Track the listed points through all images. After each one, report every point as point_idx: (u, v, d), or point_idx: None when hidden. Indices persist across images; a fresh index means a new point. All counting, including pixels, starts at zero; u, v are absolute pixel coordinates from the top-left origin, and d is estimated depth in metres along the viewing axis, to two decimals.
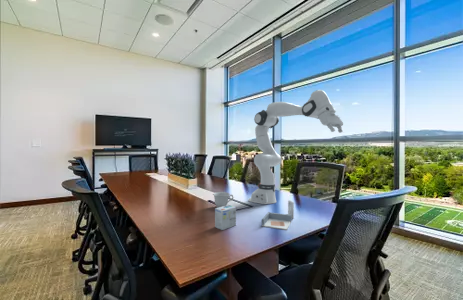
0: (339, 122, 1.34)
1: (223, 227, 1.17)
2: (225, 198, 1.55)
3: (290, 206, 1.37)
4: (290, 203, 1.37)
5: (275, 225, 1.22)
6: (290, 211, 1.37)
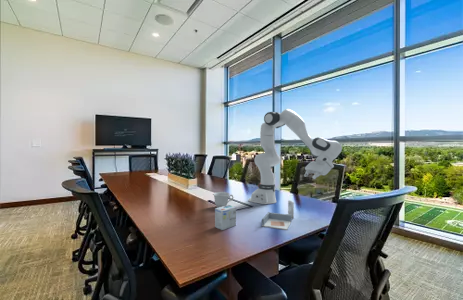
0: None
1: (223, 227, 1.17)
2: (225, 198, 1.55)
3: (290, 206, 1.37)
4: (290, 203, 1.37)
5: (275, 225, 1.22)
6: (290, 211, 1.37)
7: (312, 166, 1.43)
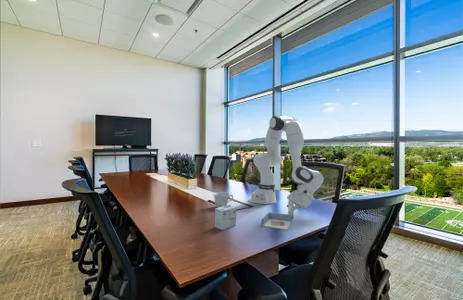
0: None
1: (223, 227, 1.17)
2: (225, 198, 1.55)
3: (290, 206, 1.37)
4: (290, 203, 1.37)
5: (275, 225, 1.22)
6: (290, 211, 1.37)
7: (293, 197, 1.41)
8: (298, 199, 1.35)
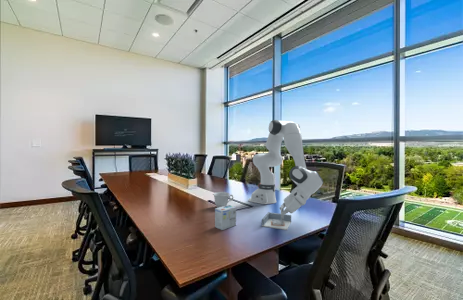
0: None
1: (223, 227, 1.17)
2: (225, 198, 1.55)
3: (281, 211, 1.24)
4: (281, 208, 1.24)
5: (275, 225, 1.22)
6: (281, 217, 1.24)
7: (287, 199, 1.26)
8: (288, 202, 1.20)
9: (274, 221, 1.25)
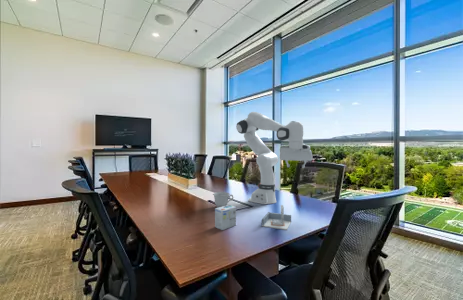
0: None
1: (223, 227, 1.17)
2: (225, 198, 1.55)
3: (281, 211, 1.24)
4: (281, 208, 1.24)
5: (275, 225, 1.22)
6: (281, 217, 1.24)
7: (291, 155, 1.41)
8: (301, 156, 1.39)
9: (274, 221, 1.25)
